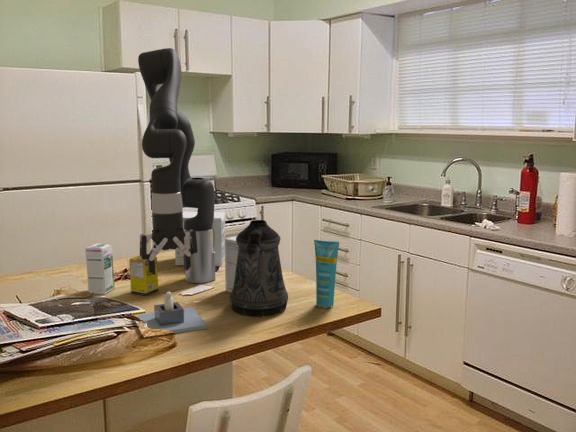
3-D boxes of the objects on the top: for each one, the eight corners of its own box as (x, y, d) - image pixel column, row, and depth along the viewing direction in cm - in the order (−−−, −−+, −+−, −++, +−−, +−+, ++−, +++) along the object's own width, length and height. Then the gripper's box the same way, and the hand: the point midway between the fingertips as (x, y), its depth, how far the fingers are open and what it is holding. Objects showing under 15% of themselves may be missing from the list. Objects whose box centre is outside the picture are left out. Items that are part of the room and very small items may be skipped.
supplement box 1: (158, 290, 168) (157, 256, 166) (146, 296, 163) (144, 261, 161) (143, 288, 171) (142, 254, 169) (130, 293, 165) (128, 258, 163)
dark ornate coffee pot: (276, 295, 165) (277, 214, 160) (300, 317, 147) (301, 226, 142) (223, 301, 159) (222, 217, 155) (241, 324, 141) (240, 230, 137)
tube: (310, 306, 155) (311, 241, 152) (314, 301, 160) (316, 237, 156) (336, 309, 153) (337, 243, 149) (339, 304, 157) (341, 239, 154)
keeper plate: (192, 310, 151) (191, 281, 149) (207, 328, 138) (206, 296, 137) (133, 319, 144) (132, 288, 143) (143, 338, 132) (141, 305, 130)
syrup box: (105, 294, 164) (102, 248, 161) (87, 293, 165) (84, 246, 162) (115, 289, 169) (112, 243, 167) (97, 287, 170) (95, 242, 168)
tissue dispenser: (177, 314, 145) (177, 301, 145) (184, 322, 140) (183, 309, 139) (154, 317, 143) (154, 305, 142) (159, 326, 137) (159, 312, 136)
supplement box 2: (174, 266, 196) (173, 217, 193) (181, 257, 209) (180, 210, 206) (222, 266, 196) (221, 217, 193) (226, 257, 209) (225, 211, 206)
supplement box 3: (267, 290, 169) (267, 237, 166) (245, 297, 163) (245, 242, 160) (246, 284, 176) (246, 233, 173) (224, 290, 169) (223, 237, 166)
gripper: (190, 205, 142) (192, 264, 145) (135, 209, 136) (138, 271, 139) (199, 210, 135) (201, 272, 139) (141, 214, 129) (144, 279, 133)
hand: (169, 271), depth 139 cm, fingers open, 8 cm apart
